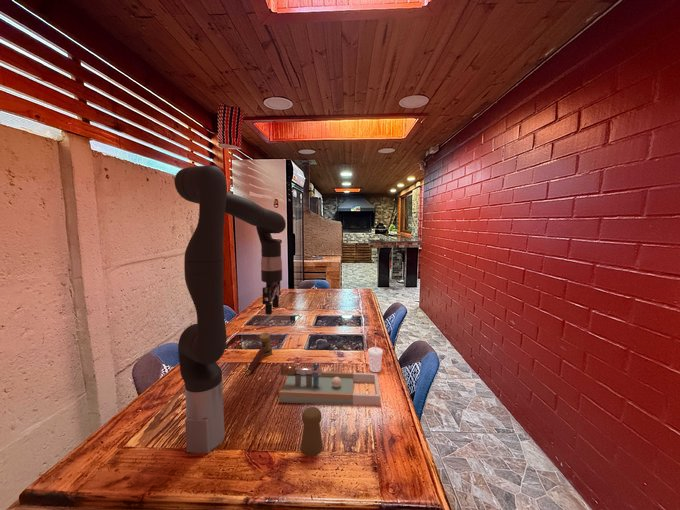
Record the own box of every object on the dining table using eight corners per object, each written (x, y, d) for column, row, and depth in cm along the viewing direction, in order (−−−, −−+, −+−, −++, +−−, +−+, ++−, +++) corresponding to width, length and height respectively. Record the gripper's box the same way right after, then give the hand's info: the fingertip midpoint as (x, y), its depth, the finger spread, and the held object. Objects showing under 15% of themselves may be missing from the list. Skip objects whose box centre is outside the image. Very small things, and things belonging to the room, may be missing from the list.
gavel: (254, 385, 110) (250, 365, 107) (243, 384, 111) (239, 364, 107) (273, 350, 130) (271, 332, 126) (264, 349, 130) (261, 331, 127)
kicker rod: (321, 387, 97) (321, 365, 97) (280, 386, 98) (280, 364, 97) (322, 382, 101) (322, 360, 100) (283, 380, 102) (283, 359, 101)
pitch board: (379, 407, 91) (380, 389, 91) (279, 403, 93) (279, 384, 93) (376, 383, 105) (377, 367, 105) (289, 379, 107) (289, 363, 106)
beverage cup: (365, 368, 116) (365, 336, 114) (378, 366, 118) (378, 334, 117) (371, 376, 110) (372, 342, 109) (385, 373, 112) (386, 340, 111)
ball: (341, 389, 97) (341, 380, 97) (331, 389, 97) (331, 380, 97) (341, 384, 101) (341, 375, 100) (332, 383, 101) (332, 374, 100)
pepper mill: (311, 436, 79) (311, 400, 78) (327, 447, 75) (327, 409, 74) (296, 449, 74) (295, 411, 73) (311, 461, 70) (311, 422, 69)
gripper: (275, 271, 94) (276, 317, 96) (286, 265, 108) (287, 305, 110) (254, 271, 95) (255, 316, 96) (267, 265, 109) (268, 305, 111)
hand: (272, 310), depth 103 cm, fingers open, 8 cm apart
